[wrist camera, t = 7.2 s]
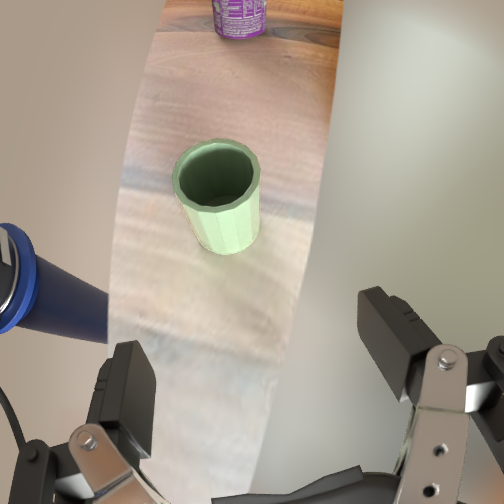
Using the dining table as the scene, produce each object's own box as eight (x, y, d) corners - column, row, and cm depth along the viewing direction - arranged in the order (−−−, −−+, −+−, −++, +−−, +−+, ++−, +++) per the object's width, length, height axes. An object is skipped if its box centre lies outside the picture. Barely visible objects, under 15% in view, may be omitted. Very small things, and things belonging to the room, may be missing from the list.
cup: (255, 259, 27) (253, 218, 19) (187, 250, 27) (162, 207, 20) (264, 198, 29) (265, 142, 21) (201, 191, 29) (184, 136, 21)
